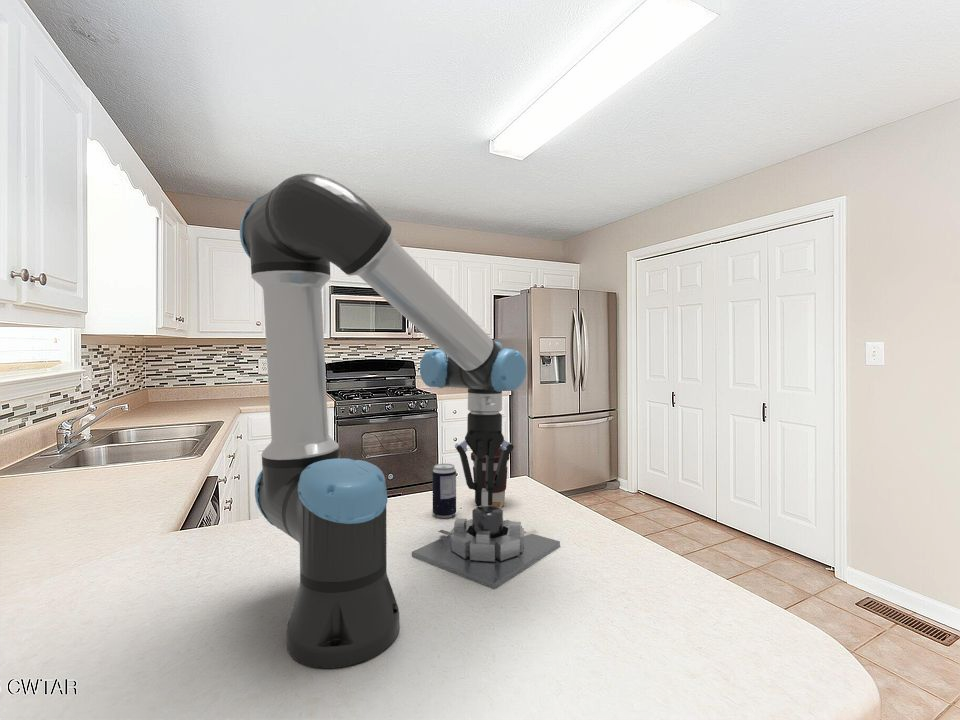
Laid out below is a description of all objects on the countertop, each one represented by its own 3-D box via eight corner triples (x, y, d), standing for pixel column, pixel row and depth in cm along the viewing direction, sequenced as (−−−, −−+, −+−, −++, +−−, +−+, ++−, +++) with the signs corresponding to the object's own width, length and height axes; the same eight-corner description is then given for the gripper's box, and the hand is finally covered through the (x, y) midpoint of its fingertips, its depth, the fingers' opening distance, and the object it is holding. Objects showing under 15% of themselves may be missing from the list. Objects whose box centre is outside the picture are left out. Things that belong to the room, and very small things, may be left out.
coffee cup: (465, 502, 125) (464, 445, 124) (498, 497, 129) (498, 442, 128) (481, 513, 116) (480, 452, 115) (516, 507, 120) (516, 448, 119)
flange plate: (494, 588, 79) (494, 541, 79) (401, 552, 93) (401, 512, 93) (564, 543, 97) (564, 504, 97) (477, 519, 112) (477, 485, 111)
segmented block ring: (445, 558, 88) (444, 533, 88) (465, 520, 108) (465, 500, 108) (520, 563, 85) (520, 538, 85) (527, 523, 105) (527, 502, 105)
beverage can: (457, 511, 117) (457, 463, 117) (454, 519, 111) (454, 469, 111) (435, 511, 118) (434, 462, 117) (430, 519, 112) (430, 468, 112)
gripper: (458, 414, 98) (456, 527, 98) (518, 414, 101) (516, 524, 101) (453, 410, 105) (451, 515, 106) (508, 409, 108) (507, 512, 108)
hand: (483, 519), depth 103 cm, fingers closed
